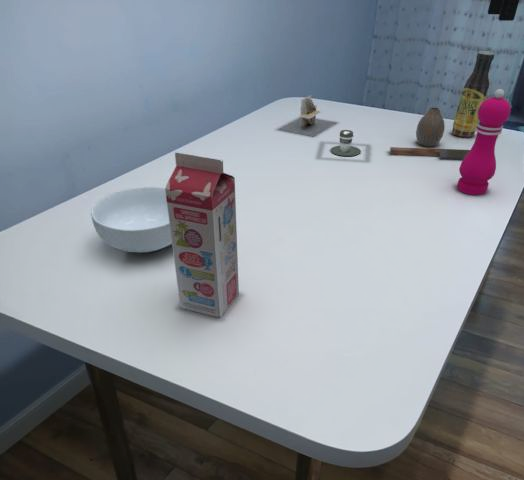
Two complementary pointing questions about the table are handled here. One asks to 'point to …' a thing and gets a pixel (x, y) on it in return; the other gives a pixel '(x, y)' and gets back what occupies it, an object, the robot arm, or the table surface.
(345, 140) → the grey round knobbed disc
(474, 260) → the table surface
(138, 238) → the cereal bowl
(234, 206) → the juice carton
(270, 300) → the table surface
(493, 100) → the pepper mill
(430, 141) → the vase
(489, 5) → the robot arm
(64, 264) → the table surface
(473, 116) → the sauce bottle
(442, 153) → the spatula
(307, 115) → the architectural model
